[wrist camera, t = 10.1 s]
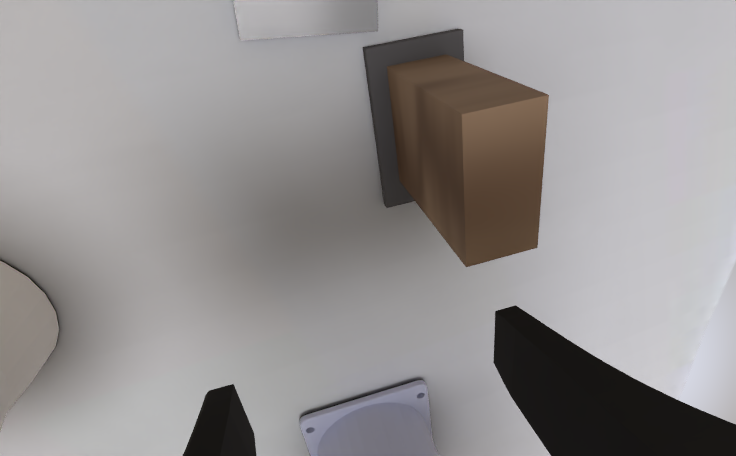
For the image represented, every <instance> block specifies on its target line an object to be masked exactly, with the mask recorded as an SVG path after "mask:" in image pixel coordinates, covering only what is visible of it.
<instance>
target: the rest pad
mask: <svg viewBox="0 0 736 456" xmlns="http://www.w3.org/2000/svg"><path fill="white" fill-rule="evenodd" d="M363 52H364V59H365V66H366V74H367V81H368V88H369V96H370V103H371V110H372V117H373V125H374V132H375V139H376V147H377V154H378V161H379V169H380V176H381V183H382V190H383V198H384V204H385V206H386V208H388V207H392V206H396V205H400V204H404V203H408V202H412V201H415V200H414V199H413V197H412V196H411V195H410V194H409V192H408V191H407V190H406V188H405V187H404V186H403V184H402V183H401V182H400V180H399V171H398V162H397V153H396V144H395V136H394V127H393V118H392V109H391V100H390V91H389V82H388V73H387V66H392V65H397V64H402V63H406V62H411V61H416V60H421V59H426V58H431V57H436V56H441V55H446V54H447V55H449V56H452V57H454V58H457V59H459V60H462V61H464V46H463V30H462V29H455V30H450V31H445V32H440V33H435V34H430V35H424V36H419V37H414V38H409V39H404V40H399V41H394V42H389V43H383V44H378V45H373V46H368V47H363Z"/></svg>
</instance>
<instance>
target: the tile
mask: <svg viewBox="0 0 736 456" xmlns="http://www.w3.org/2000/svg"><path fill="white" fill-rule="evenodd" d="M233 2H234V8H235V14H236V20H237V26H238V32H239V38H240V41H243V40H258V39H272V38H286V37H301V36H315V35H330V34H344V33H358V32H373V31H378V4H377V0H233Z"/></svg>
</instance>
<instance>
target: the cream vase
mask: <svg viewBox="0 0 736 456" xmlns="http://www.w3.org/2000/svg"><path fill="white" fill-rule="evenodd" d="M58 333H59V326H58V321H57V316H56V311H55V310H54V308H53V306H52V305H51V303H50V301H49V300H48V298H47V296H46V294H45V293H44V292H43V291H42V290H41V289H40V288H38V287H37V286H36V285H35V284H34V283H33V282H32V281H31V280H30V279H29V278H28V277H27V276H25V275H24V274H22V273H20V272H19V271H17V270H15V269H14V268H12V267H10V266H9V265H7V264H5V263H4V262H2V261H0V431H1V428H2V425H3V422H4V419H5V416H6V413H7V412H8V411H9V410H10V408H11V407H12V406H13V405H14V403H15V402H16V401H17V400H18V398H19V397H20V396H21V395H22V393H23V392H24V391H25V390H26V388H27V387H28V386H29V385H30V383H31V382H32V381H33V379H34V378H35V376H36V375H37V373H38V372H39V371H40V369H41V368H42V366H43V365H44V363H45V362H46V360H47V359H48V357H49V356H50V354H51V353H52V351H53V350H54V348H55V347H56V342H57V338H58Z"/></svg>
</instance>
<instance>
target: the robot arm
mask: <svg viewBox="0 0 736 456" xmlns="http://www.w3.org/2000/svg"><path fill="white" fill-rule="evenodd" d="M494 364H495V366H496V368H497V370H498V372H499V374H500V376H501V378H502V380H503V382H504V384H505V386H506V388H507V390H508V391H509V393H510V395H511V397H512V398H513V400H514V401H515V403H516V404H517V406H518V407H519V409H520V410H521V412H522V413H523V415H524V416H525V418H526V419H527V421H528V422H529V424H530V425H531V427H532V428H533V430H534V431H535V433H536V434H537V436H538V437H539V438H540V440H541V441H542V443H543V444H544V446H545V447H546V449H547V450H548V452H549V453H550V455H551V456H736V424H733V423H730V422H727V421H725V420H723V419H720V418H718V417H716V416H713V415H711V414H708V413H706V412H704V411H701V410H699V409H697V408H694V407H692V406H690V405H687V404H685V403H683V402H681V401H679V400H676V399H674V398H672V397H670V396H668V395H666V394H664V393H662V392H660V391H658V390H656V389H654V388H651V387H649V386H647V385H645V384H643V383H642V382H640V381H638V380H636V379H634V378H632V377H630V376H628V375H626V374H625V373H623V372H621V371H619V370H617V369H616V368H614V367H612V366H610V365H609V364H607V363H605V362H603V361H602V360H600V359H598V358H597V357H595V356H593V355H591V354H590V353H588V352H587V351H585V350H583V349H582V348H580V347H579V346H577V345H575V344H574V343H572V342H571V341H569V340H567V339H566V338H564V337H563V336H561V335H560V334H558V333H557V332H555V331H554V330H552V329H550V328H549V327H547V326H546V325H544V324H543V323H541V322H540V321H538V320H537V319H535V318H534V317H532V316H531V315H529V314H528V313H526V312H525V311H523V310H522V309H520V308H519V307H517V306H512V307H509V308H505V309H502V310H498V311H496V312H495V341H494ZM299 422H300V428H301V431H302V434H303V436H304V439H305V442H306V445H307V448H308V450H309V453H310V456H439V454H438V452H437V449H436V447H435V444H434V442H433V436H432V427H431V417H430V408H429V398H428V388H427V385H426V383H425V381H423V380H417V381H414V382H411V383H408V384H404V385H401V386H398V387H395V388H391V389H388V390H385V391H382V392H378V393H375V394H372V395H369V396H365V397H362V398H359V399H356V400H352V401H349V402H346V403H343V404H339V405H336V406H333V407H330V408H326V409H323V410H320V411H317V412H314V413H310V414H307V415H305V416H303V417H302V418H301V419H300V420H299ZM183 456H256V448H255V438H254V432H253V430H252V428H251V425H250V423H249V420H248V418H247V416H246V413H245V411H244V408H243V406H242V404H241V401H240V399H239V396H238V394H237V392H236V389H235V387H234V384H232V385H228V386H225V387H221V388H217V389H214V390H210V391H209V392H208V393H207V394H206V396H205V399H204V402H203V405H202V408H201V411H200V413H199V416H198V419H197V421H196V424H195V427H194V429H193V432H192V434H191V437H190V439H189V442H188V444H187V447H186V449H185V452H184V454H183Z"/></svg>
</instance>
